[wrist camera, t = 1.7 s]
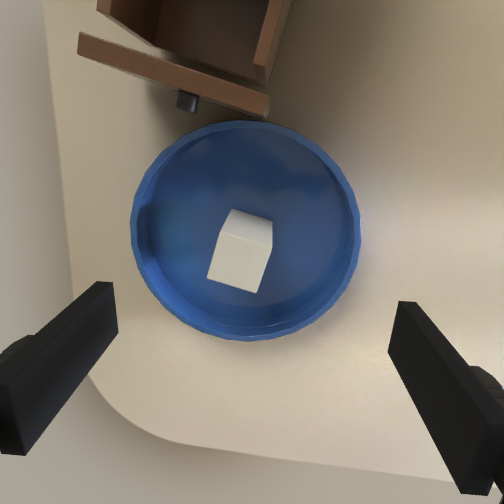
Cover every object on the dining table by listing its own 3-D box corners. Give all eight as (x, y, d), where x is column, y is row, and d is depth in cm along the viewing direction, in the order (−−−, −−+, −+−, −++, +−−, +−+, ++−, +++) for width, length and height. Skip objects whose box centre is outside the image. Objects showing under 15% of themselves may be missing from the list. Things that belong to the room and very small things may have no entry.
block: (220, 246, 33) (206, 278, 26) (231, 208, 31) (220, 230, 24) (259, 258, 33) (256, 293, 26) (272, 221, 31) (272, 247, 24)
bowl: (128, 290, 36) (114, 306, 32) (168, 89, 29) (154, 84, 25) (307, 343, 37) (311, 364, 33) (388, 162, 30) (402, 166, 26)
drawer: (261, 134, 29) (257, 136, 20) (132, 92, 28) (74, 76, 20) (320, -60, 24) (345, -160, 16) (166, -116, 23) (108, -250, 15)
